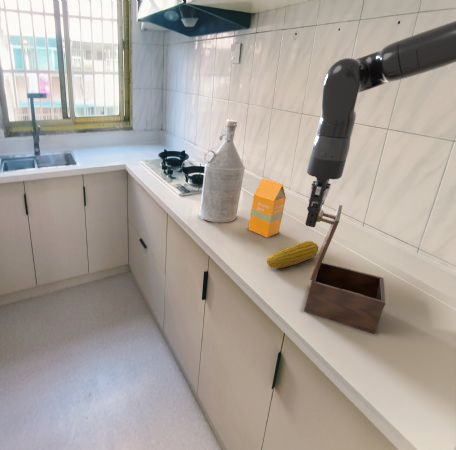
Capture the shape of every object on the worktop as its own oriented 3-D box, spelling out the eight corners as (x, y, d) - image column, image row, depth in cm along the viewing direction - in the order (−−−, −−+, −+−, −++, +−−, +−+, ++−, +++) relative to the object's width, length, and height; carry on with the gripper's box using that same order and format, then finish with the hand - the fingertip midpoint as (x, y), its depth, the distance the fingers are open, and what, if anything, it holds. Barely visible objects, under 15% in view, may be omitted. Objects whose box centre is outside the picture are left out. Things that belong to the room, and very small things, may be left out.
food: (304, 252, 116) (308, 236, 114) (318, 259, 112) (323, 243, 109) (261, 267, 106) (264, 250, 103) (275, 275, 102) (279, 258, 99)
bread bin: (373, 305, 90) (383, 277, 86) (373, 333, 80) (385, 303, 76) (310, 287, 97) (317, 260, 93) (303, 310, 86) (311, 281, 83)
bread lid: (342, 205, 85) (321, 199, 87) (339, 221, 75) (315, 214, 77) (319, 259, 93) (300, 252, 95) (313, 281, 83) (292, 273, 85)
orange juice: (259, 224, 137) (268, 177, 129) (279, 232, 130) (289, 182, 122) (247, 229, 132) (255, 180, 124) (267, 237, 126) (276, 186, 118)
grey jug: (192, 213, 145) (200, 117, 129) (227, 210, 151) (240, 117, 135) (205, 225, 134) (216, 121, 118) (243, 221, 140) (258, 121, 124)
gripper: (344, 163, 70) (325, 234, 77) (348, 152, 81) (331, 214, 88) (306, 158, 73) (291, 226, 80) (314, 148, 85) (301, 208, 91)
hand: (312, 220), depth 84 cm, fingers open, 8 cm apart
